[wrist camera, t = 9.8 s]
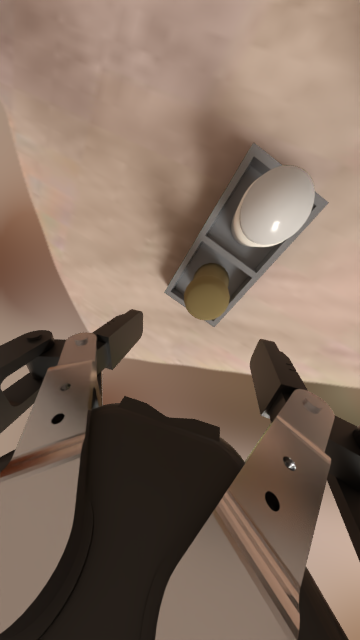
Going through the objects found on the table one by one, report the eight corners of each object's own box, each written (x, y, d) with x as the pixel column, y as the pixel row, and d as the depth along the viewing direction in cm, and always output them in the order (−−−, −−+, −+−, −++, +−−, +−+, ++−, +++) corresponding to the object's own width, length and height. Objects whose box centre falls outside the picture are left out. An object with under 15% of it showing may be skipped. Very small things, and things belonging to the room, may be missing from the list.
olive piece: (185, 280, 27) (166, 300, 17) (212, 254, 24) (207, 259, 14) (208, 305, 28) (202, 337, 18) (237, 282, 25) (247, 306, 15)
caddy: (248, 156, 19) (253, 142, 16) (314, 208, 20) (328, 202, 17) (169, 288, 29) (164, 292, 26) (214, 320, 30) (214, 327, 27)
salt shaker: (237, 197, 20) (251, 159, 11) (282, 201, 20) (334, 163, 11) (226, 243, 23) (230, 242, 14) (265, 249, 22) (296, 251, 13)
